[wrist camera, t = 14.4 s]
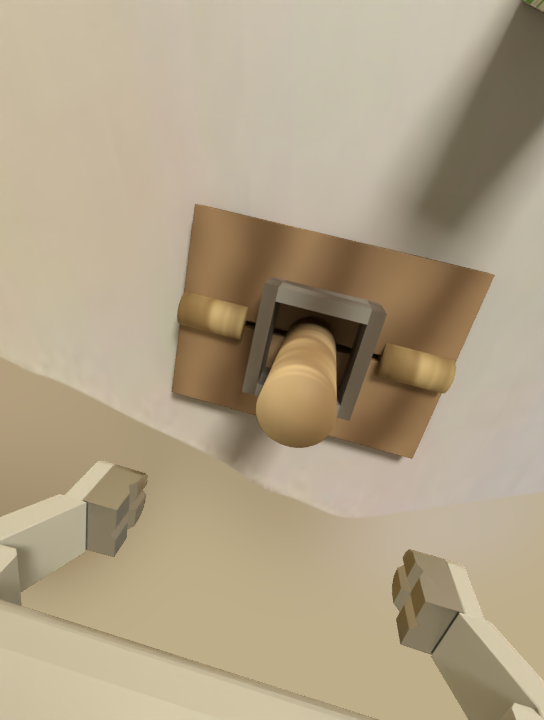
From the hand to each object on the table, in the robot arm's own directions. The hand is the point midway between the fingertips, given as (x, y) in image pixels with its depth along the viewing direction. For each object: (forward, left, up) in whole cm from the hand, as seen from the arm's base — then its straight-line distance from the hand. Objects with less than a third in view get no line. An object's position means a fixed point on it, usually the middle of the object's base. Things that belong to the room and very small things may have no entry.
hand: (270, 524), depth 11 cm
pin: (0, 0, -19) cm, 19 cm away
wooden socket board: (0, 0, -21) cm, 21 cm away
